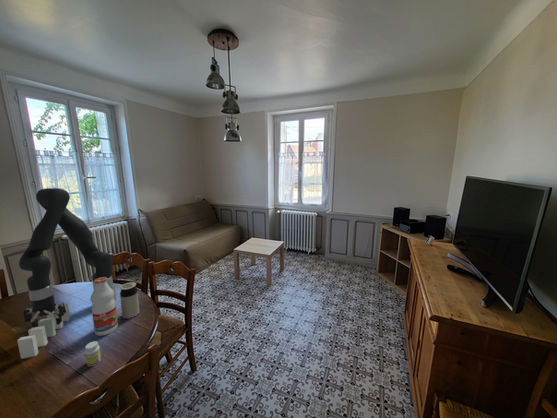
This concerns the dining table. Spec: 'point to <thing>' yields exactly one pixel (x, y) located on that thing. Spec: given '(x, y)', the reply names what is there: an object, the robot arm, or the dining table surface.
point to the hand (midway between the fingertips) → (48, 325)
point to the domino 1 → (27, 346)
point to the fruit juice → (103, 308)
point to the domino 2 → (39, 335)
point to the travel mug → (129, 300)
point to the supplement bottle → (92, 353)
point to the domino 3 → (48, 326)
